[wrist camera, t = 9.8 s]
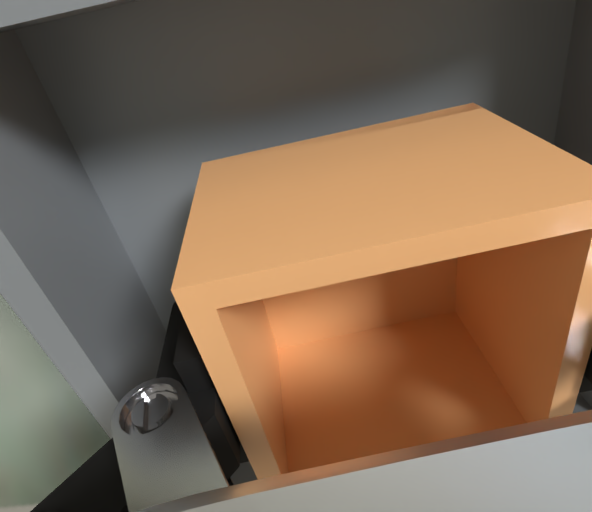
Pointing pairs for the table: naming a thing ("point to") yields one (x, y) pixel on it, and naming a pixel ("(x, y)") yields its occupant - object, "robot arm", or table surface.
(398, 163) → the orange crate
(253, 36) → the grey square tray
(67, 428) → the table surface
